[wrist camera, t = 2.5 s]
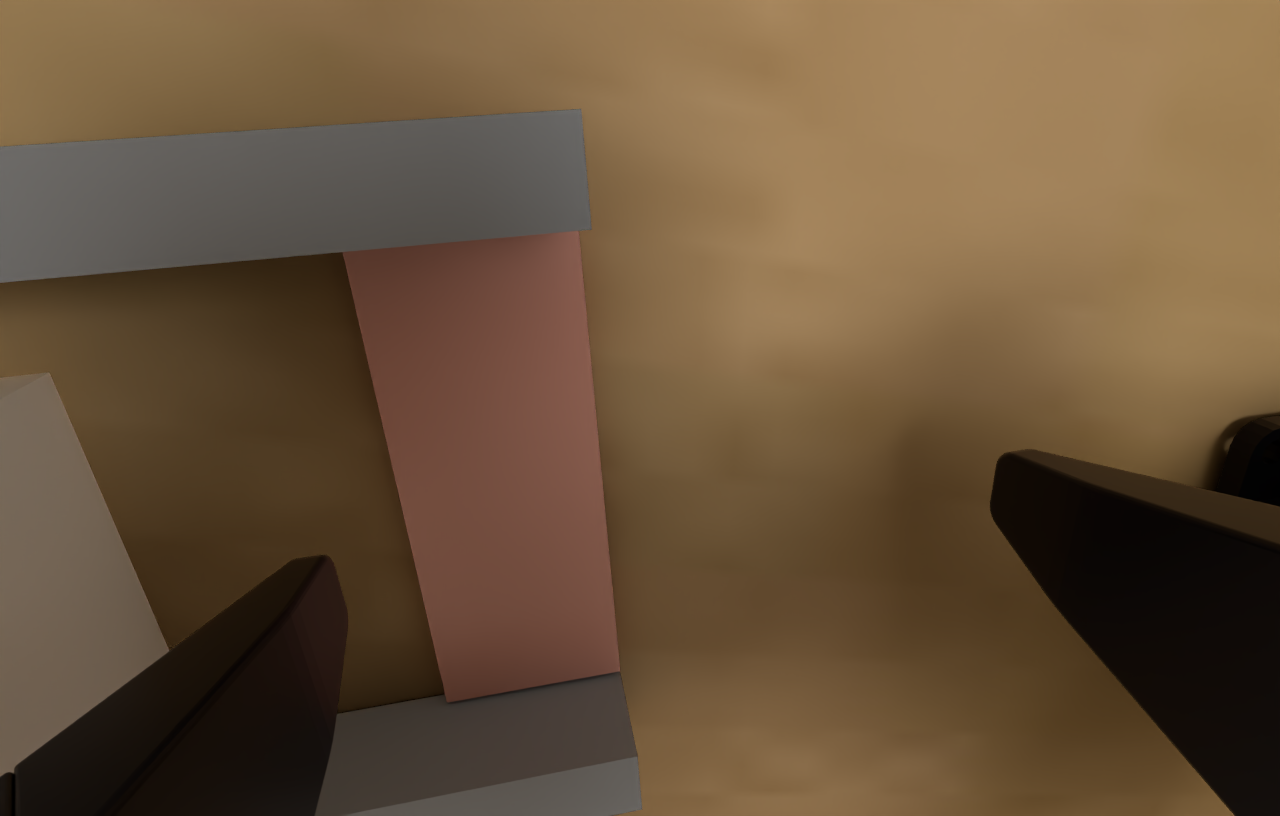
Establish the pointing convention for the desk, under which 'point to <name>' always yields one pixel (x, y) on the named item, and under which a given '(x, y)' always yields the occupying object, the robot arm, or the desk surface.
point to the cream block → (59, 578)
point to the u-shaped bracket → (417, 412)
